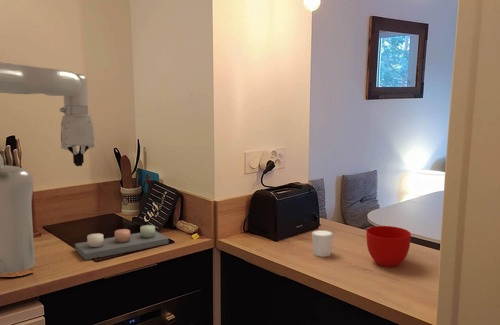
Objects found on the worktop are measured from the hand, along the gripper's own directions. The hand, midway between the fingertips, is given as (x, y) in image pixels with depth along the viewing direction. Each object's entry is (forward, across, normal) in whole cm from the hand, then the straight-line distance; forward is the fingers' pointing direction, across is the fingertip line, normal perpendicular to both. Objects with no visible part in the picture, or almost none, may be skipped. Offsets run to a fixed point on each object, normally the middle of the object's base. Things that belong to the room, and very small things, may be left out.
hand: (78, 165), depth 155 cm
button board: (+27, +10, -13) cm, 31 cm away
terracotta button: (+24, +10, -13) cm, 29 cm away
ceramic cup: (+27, +74, -72) cm, 107 cm away
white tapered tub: (+27, +62, -55) cm, 87 cm away
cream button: (+25, +1, -13) cm, 28 cm away
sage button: (+25, +19, -13) cm, 33 cm away
